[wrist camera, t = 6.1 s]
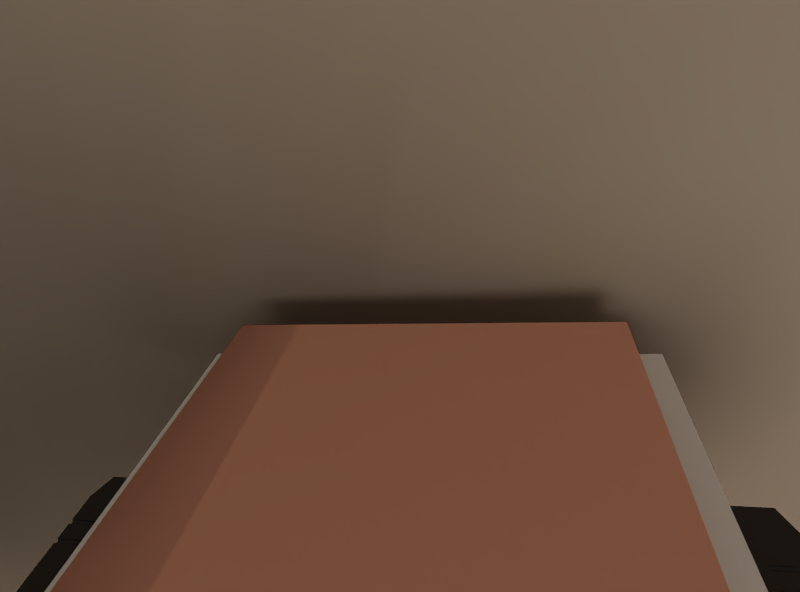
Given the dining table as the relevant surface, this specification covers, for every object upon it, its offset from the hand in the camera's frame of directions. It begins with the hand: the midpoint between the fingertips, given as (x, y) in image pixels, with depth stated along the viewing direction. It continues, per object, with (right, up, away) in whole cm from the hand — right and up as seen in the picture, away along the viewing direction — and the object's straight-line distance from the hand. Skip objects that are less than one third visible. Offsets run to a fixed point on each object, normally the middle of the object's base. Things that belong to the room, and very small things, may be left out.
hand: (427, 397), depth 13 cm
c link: (+1, -4, +2) cm, 5 cm away
